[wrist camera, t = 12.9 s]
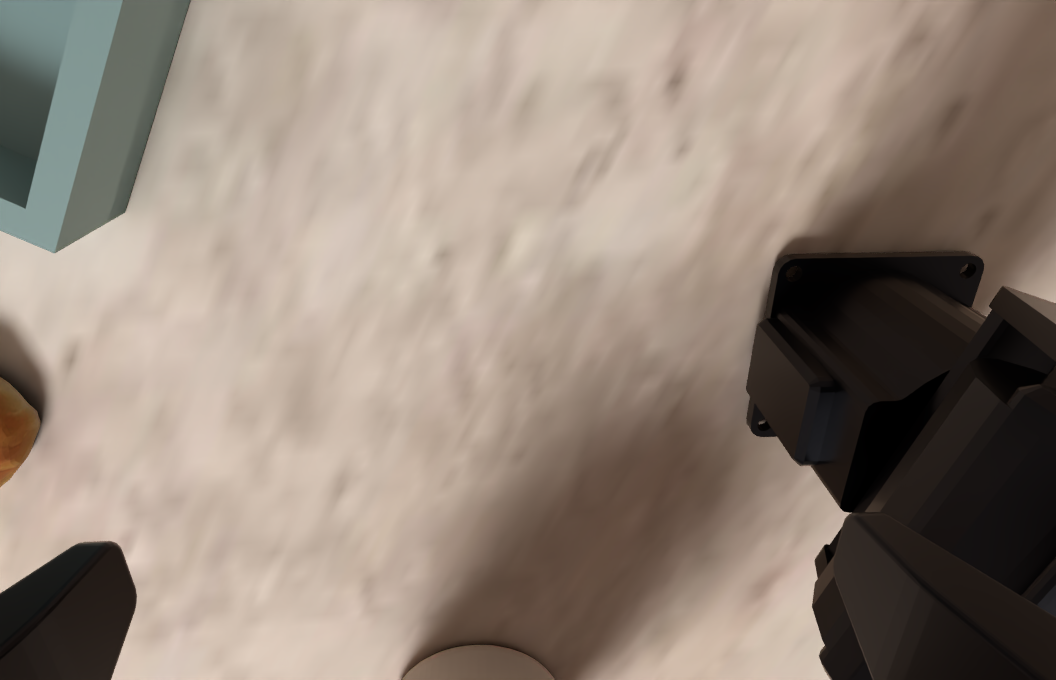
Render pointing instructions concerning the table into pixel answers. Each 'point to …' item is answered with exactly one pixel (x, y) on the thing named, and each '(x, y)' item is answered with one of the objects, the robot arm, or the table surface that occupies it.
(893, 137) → the table surface
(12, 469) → the pastry
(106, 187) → the tray
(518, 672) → the coffee cup
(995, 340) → the robot arm
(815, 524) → the table surface
